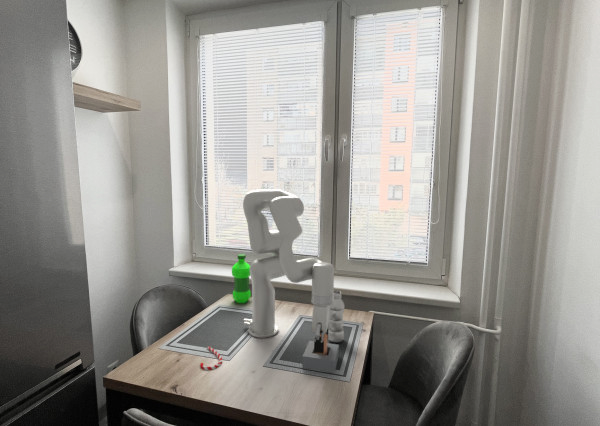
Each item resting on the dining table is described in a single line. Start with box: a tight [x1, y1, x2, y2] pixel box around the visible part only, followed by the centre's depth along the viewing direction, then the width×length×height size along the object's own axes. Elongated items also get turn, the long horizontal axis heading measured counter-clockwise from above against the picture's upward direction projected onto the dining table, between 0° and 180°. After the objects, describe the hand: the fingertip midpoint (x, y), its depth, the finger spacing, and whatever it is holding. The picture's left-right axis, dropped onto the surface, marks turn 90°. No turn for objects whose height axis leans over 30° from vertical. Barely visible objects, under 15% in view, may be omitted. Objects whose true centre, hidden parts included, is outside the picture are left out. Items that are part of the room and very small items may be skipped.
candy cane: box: [199, 346, 223, 371], centre depth 116 cm, size 8×1×15 cm
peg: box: [316, 334, 329, 355], centre depth 114 cm, size 4×4×10 cm
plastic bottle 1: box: [231, 253, 252, 304], centre depth 170 cm, size 10×10×25 cm
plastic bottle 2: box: [328, 290, 345, 344], centre depth 130 cm, size 6×7×20 cm
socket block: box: [301, 340, 340, 374], centre depth 115 cm, size 11×11×4 cm
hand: (321, 345), depth 114 cm, fingers open, 9 cm apart
